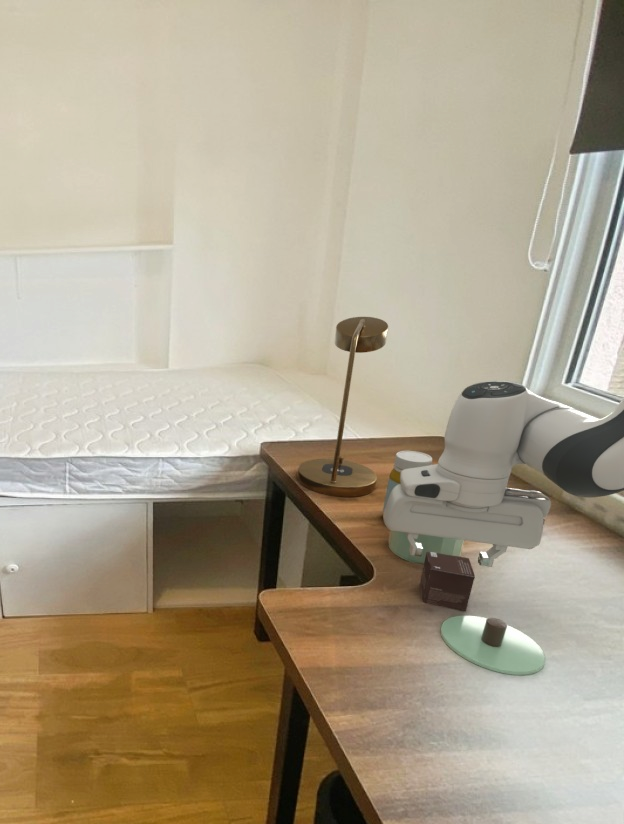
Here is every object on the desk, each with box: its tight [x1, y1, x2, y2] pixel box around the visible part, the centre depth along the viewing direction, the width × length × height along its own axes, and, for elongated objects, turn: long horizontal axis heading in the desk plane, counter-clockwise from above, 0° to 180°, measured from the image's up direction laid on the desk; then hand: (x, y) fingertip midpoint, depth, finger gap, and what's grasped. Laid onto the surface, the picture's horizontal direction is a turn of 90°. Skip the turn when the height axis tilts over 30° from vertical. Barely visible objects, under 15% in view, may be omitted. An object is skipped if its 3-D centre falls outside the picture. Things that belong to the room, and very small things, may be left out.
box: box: [419, 552, 476, 612], centre depth 93 cm, size 6×6×7 cm
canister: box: [387, 530, 466, 565], centre depth 106 cm, size 11×11×10 cm
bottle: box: [381, 450, 433, 517], centre depth 116 cm, size 7×7×15 cm
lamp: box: [296, 316, 389, 498], centre depth 134 cm, size 17×27×38 cm, turn 146°
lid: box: [440, 615, 546, 676], centre depth 83 cm, size 12×12×5 cm
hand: (448, 559), depth 92 cm, fingers open, 8 cm apart
